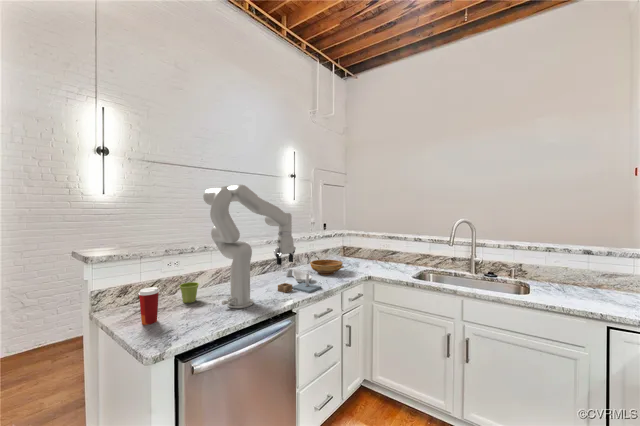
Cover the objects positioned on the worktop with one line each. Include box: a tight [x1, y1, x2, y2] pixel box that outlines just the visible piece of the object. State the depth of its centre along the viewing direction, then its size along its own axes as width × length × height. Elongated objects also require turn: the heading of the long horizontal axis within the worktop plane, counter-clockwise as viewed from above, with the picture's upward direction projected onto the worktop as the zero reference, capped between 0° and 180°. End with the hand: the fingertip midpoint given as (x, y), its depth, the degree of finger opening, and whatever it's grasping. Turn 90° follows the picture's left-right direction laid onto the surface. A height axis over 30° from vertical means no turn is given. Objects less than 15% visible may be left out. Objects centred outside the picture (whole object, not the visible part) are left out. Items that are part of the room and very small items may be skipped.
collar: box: [277, 282, 293, 294], centre depth 164 cm, size 6×6×4 cm
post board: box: [292, 272, 322, 294], centre depth 168 cm, size 12×14×9 cm
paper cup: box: [138, 286, 160, 326], centre depth 119 cm, size 8×8×14 cm
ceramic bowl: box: [309, 259, 345, 276], centre depth 207 cm, size 30×24×8 cm
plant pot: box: [179, 281, 200, 304], centre depth 145 cm, size 9×9×9 cm
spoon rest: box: [285, 267, 313, 284], centre depth 188 cm, size 24×12×7 cm, turn 39°
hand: (285, 263), depth 163 cm, fingers open, 9 cm apart
